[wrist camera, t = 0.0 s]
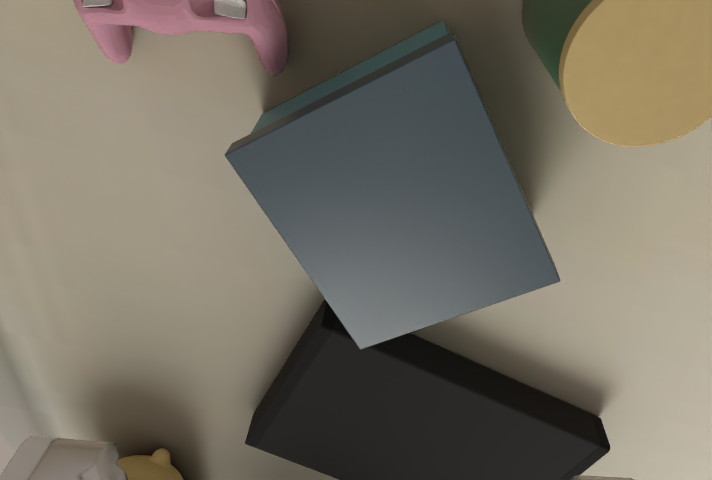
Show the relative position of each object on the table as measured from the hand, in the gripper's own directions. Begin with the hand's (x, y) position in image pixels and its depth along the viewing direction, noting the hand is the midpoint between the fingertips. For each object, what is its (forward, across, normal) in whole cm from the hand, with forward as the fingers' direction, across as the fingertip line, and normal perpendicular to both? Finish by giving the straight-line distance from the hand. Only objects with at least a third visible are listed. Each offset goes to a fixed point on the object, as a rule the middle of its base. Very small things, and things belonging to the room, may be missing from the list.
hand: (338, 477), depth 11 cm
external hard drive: (+25, -4, +27) cm, 37 cm away
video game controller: (+25, +10, -3) cm, 27 cm away
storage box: (+25, -1, +6) cm, 26 cm away
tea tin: (+25, -10, -3) cm, 27 cm away
